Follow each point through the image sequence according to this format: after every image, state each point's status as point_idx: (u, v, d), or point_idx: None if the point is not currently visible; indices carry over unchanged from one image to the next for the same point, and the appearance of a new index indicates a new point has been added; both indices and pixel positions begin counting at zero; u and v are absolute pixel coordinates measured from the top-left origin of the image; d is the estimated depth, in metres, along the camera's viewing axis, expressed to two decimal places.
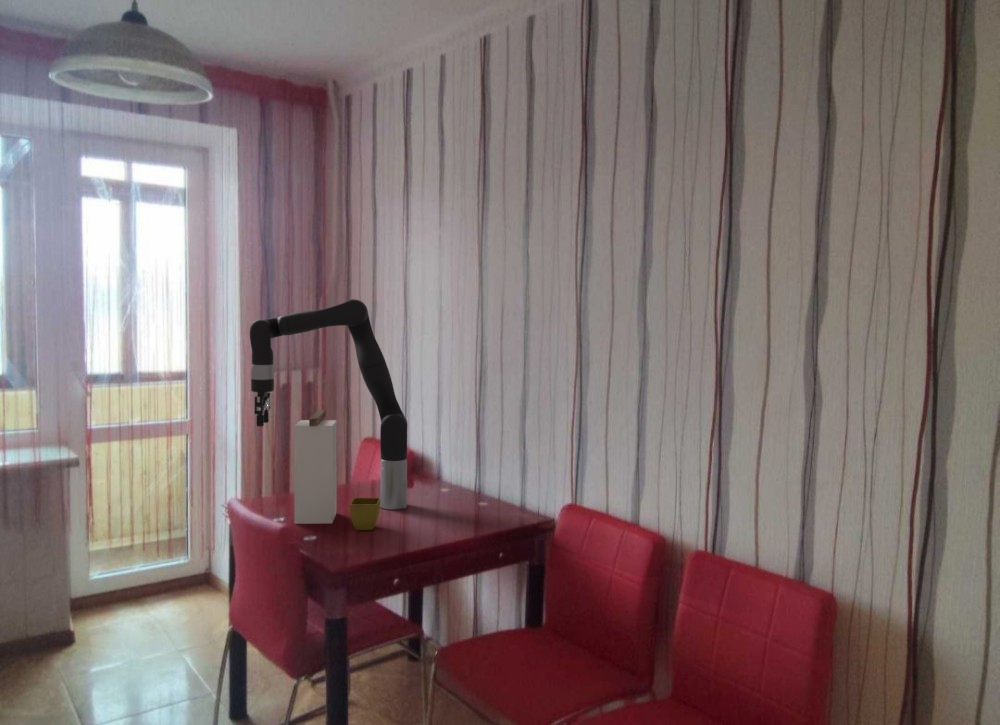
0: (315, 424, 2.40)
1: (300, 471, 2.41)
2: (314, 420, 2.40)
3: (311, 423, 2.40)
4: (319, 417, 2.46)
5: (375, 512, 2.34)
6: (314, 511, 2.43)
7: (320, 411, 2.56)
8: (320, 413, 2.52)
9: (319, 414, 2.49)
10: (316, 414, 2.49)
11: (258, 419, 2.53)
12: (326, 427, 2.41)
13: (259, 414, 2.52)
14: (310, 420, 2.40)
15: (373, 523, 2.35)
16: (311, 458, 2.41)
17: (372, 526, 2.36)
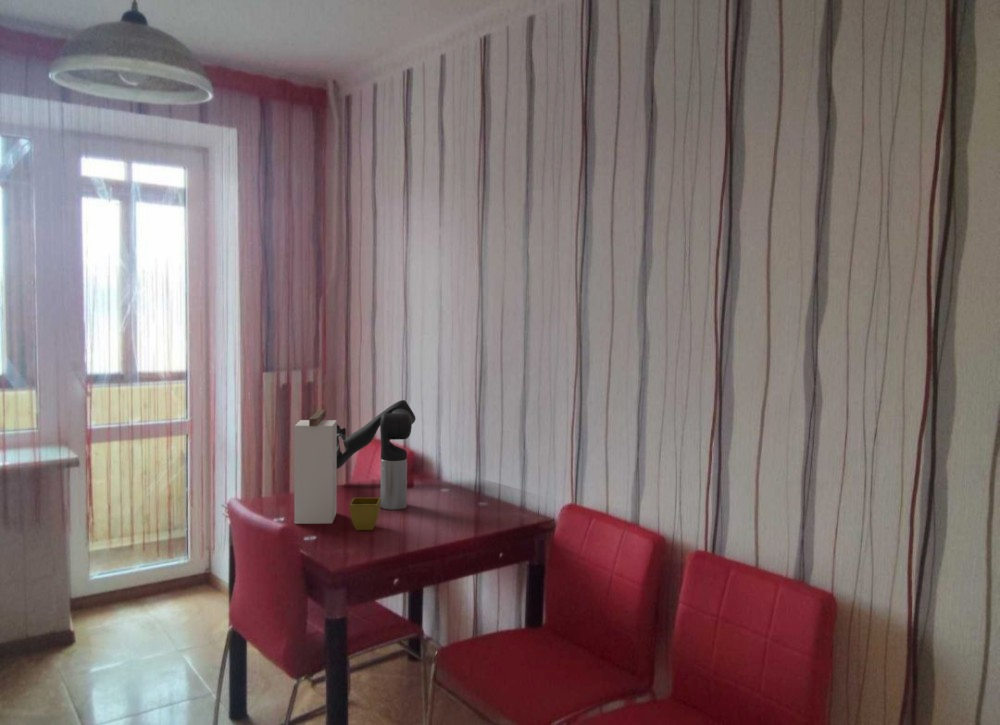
0: (315, 424, 2.40)
1: (300, 471, 2.41)
2: (314, 420, 2.40)
3: (311, 423, 2.40)
4: (319, 417, 2.46)
5: (375, 512, 2.34)
6: (314, 511, 2.43)
7: (320, 411, 2.56)
8: (320, 413, 2.52)
9: (319, 414, 2.49)
10: (316, 414, 2.49)
11: (339, 428, 2.71)
12: (326, 427, 2.41)
13: (342, 431, 2.72)
14: (310, 420, 2.40)
15: (373, 523, 2.35)
16: (311, 458, 2.41)
17: (372, 526, 2.36)
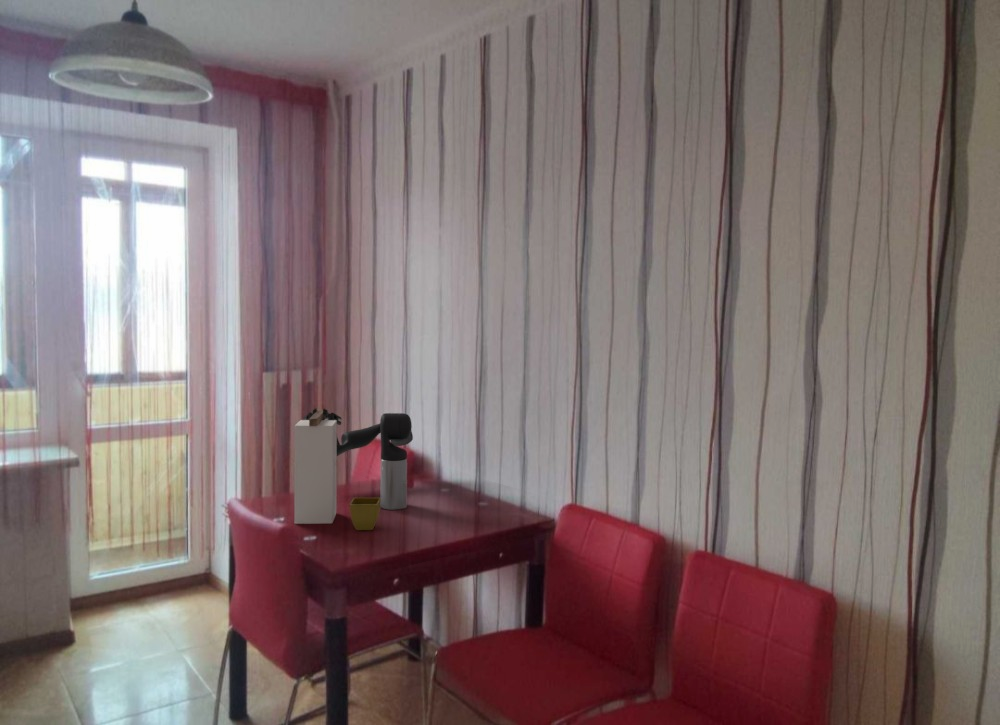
0: (315, 424, 2.40)
1: (300, 471, 2.41)
2: (314, 420, 2.40)
3: (311, 423, 2.40)
4: (319, 417, 2.46)
5: (375, 512, 2.34)
6: (314, 511, 2.43)
7: (320, 411, 2.56)
8: (320, 413, 2.52)
9: (319, 414, 2.49)
10: (316, 414, 2.49)
11: (327, 412, 2.57)
12: (326, 427, 2.41)
13: (331, 416, 2.59)
14: (310, 420, 2.39)
15: (373, 523, 2.35)
16: (311, 458, 2.41)
17: (372, 526, 2.36)
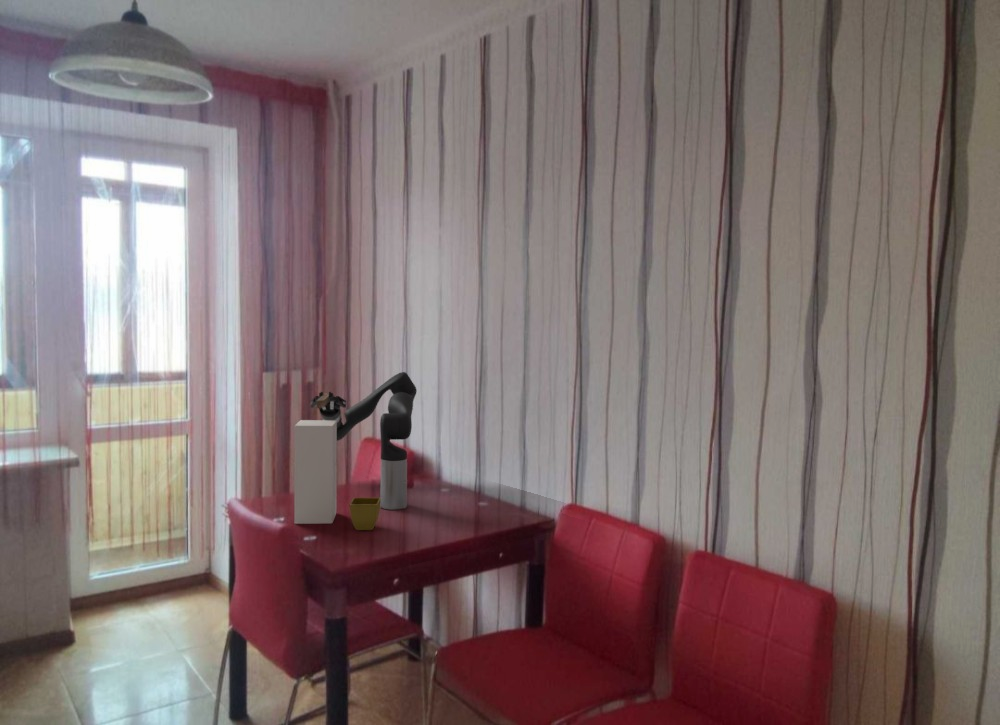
0: (322, 405, 2.56)
1: (300, 471, 2.41)
2: (321, 402, 2.56)
3: (318, 404, 2.56)
4: (325, 399, 2.62)
5: (375, 512, 2.34)
6: (314, 511, 2.43)
7: (326, 394, 2.73)
8: (326, 396, 2.68)
9: (325, 397, 2.66)
10: (322, 397, 2.66)
11: (333, 395, 2.74)
12: (326, 427, 2.41)
13: (336, 399, 2.75)
14: (317, 402, 2.56)
15: (373, 523, 2.35)
16: (311, 458, 2.41)
17: (372, 526, 2.36)
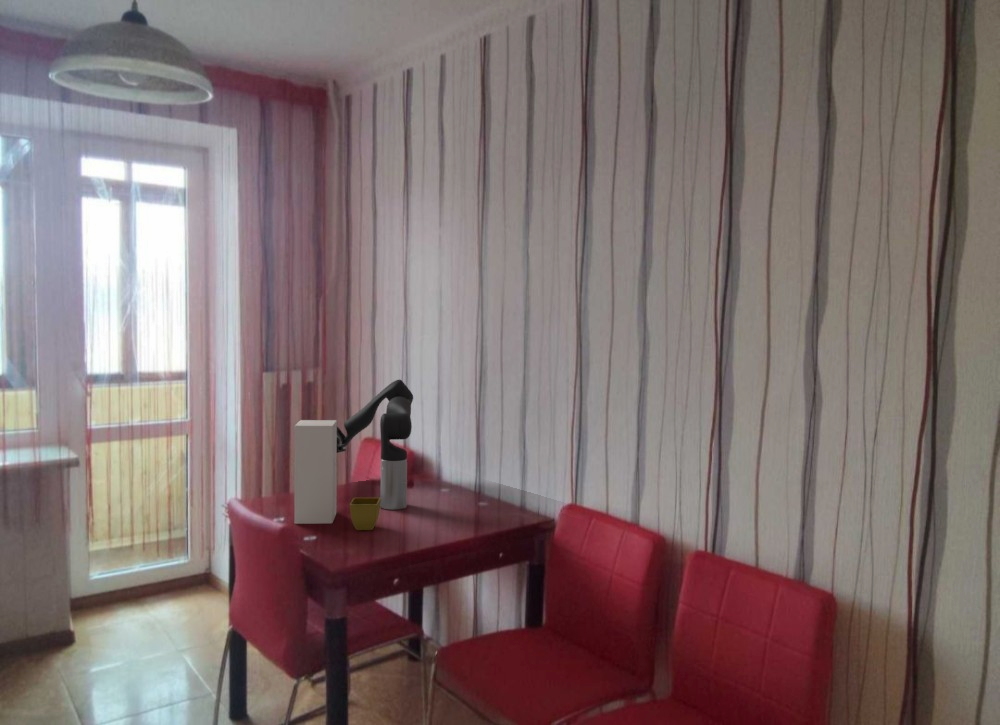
0: None
1: (300, 471, 2.41)
2: None
3: None
4: None
5: (375, 512, 2.34)
6: (314, 511, 2.43)
7: None
8: None
9: None
10: None
11: None
12: (326, 427, 2.41)
13: None
14: None
15: (373, 523, 2.35)
16: (311, 458, 2.41)
17: (372, 526, 2.36)
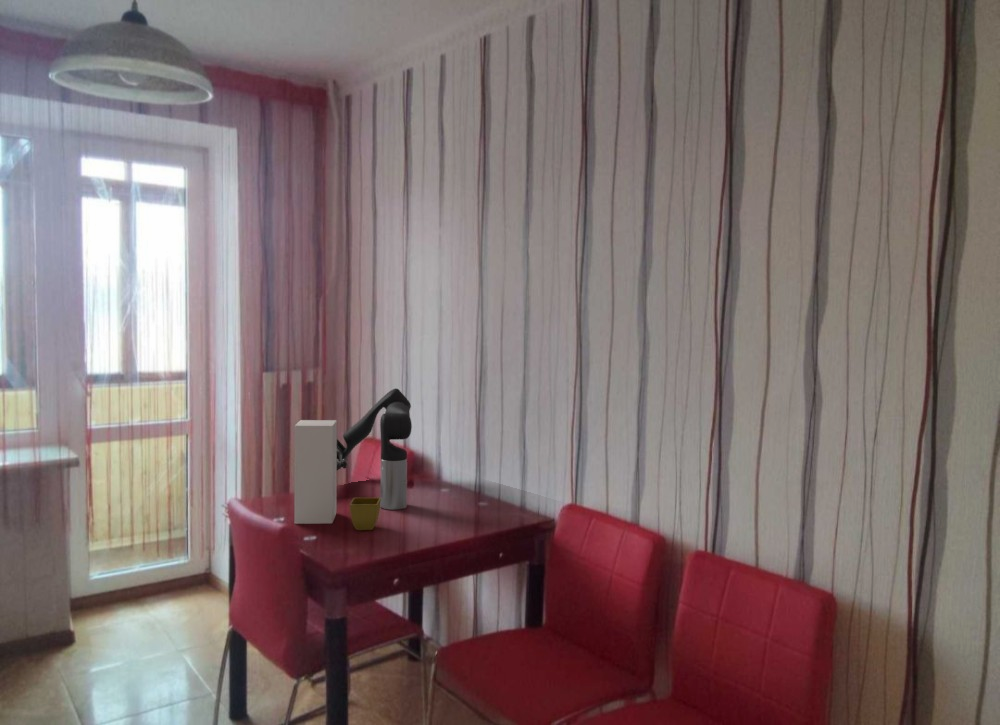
0: None
1: (300, 471, 2.41)
2: None
3: None
4: None
5: (375, 512, 2.34)
6: (314, 511, 2.43)
7: None
8: None
9: None
10: None
11: (340, 465, 2.77)
12: (326, 427, 2.41)
13: (343, 465, 2.79)
14: None
15: (373, 523, 2.35)
16: (311, 458, 2.41)
17: (372, 526, 2.36)
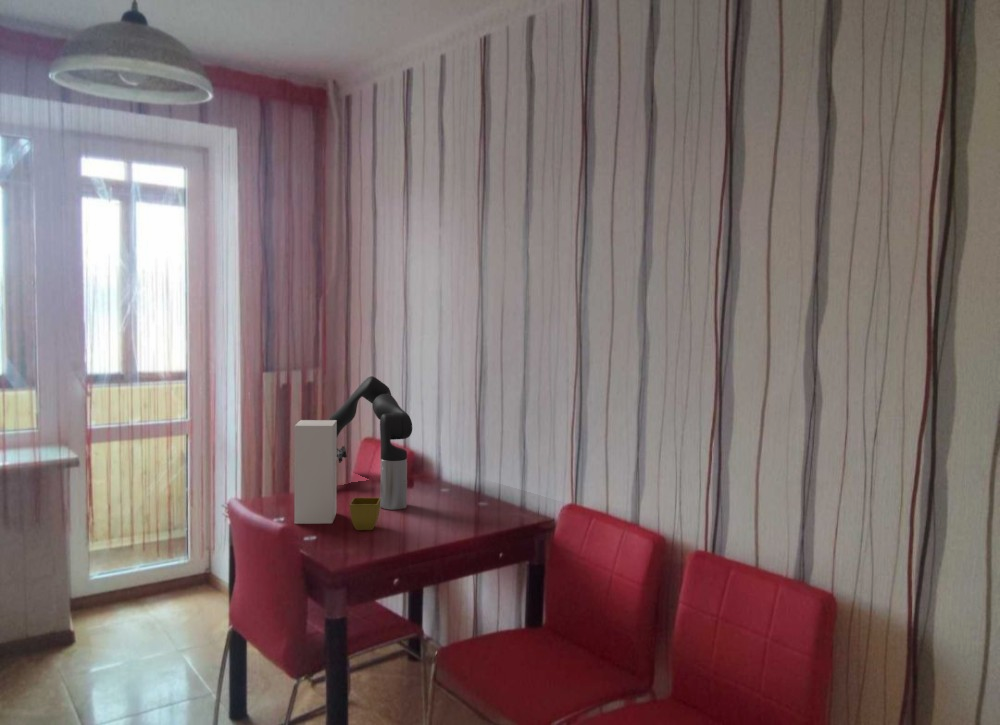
0: None
1: (300, 471, 2.41)
2: None
3: None
4: None
5: (375, 512, 2.34)
6: (314, 511, 2.43)
7: None
8: None
9: None
10: None
11: (341, 456, 2.88)
12: (326, 427, 2.41)
13: (344, 455, 2.90)
14: None
15: (373, 523, 2.35)
16: (311, 458, 2.41)
17: (372, 526, 2.36)
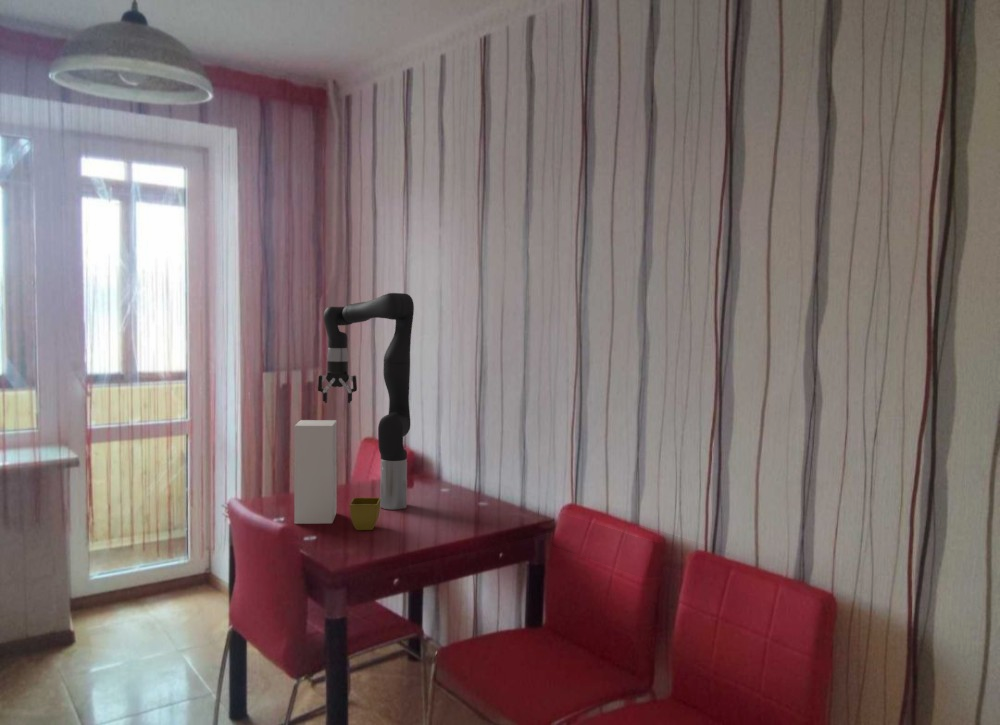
0: None
1: (300, 471, 2.41)
2: None
3: None
4: None
5: (375, 512, 2.34)
6: (314, 511, 2.43)
7: None
8: None
9: None
10: None
11: (351, 396, 2.83)
12: (326, 427, 2.41)
13: None
14: None
15: (373, 523, 2.35)
16: (311, 458, 2.41)
17: (372, 526, 2.36)
